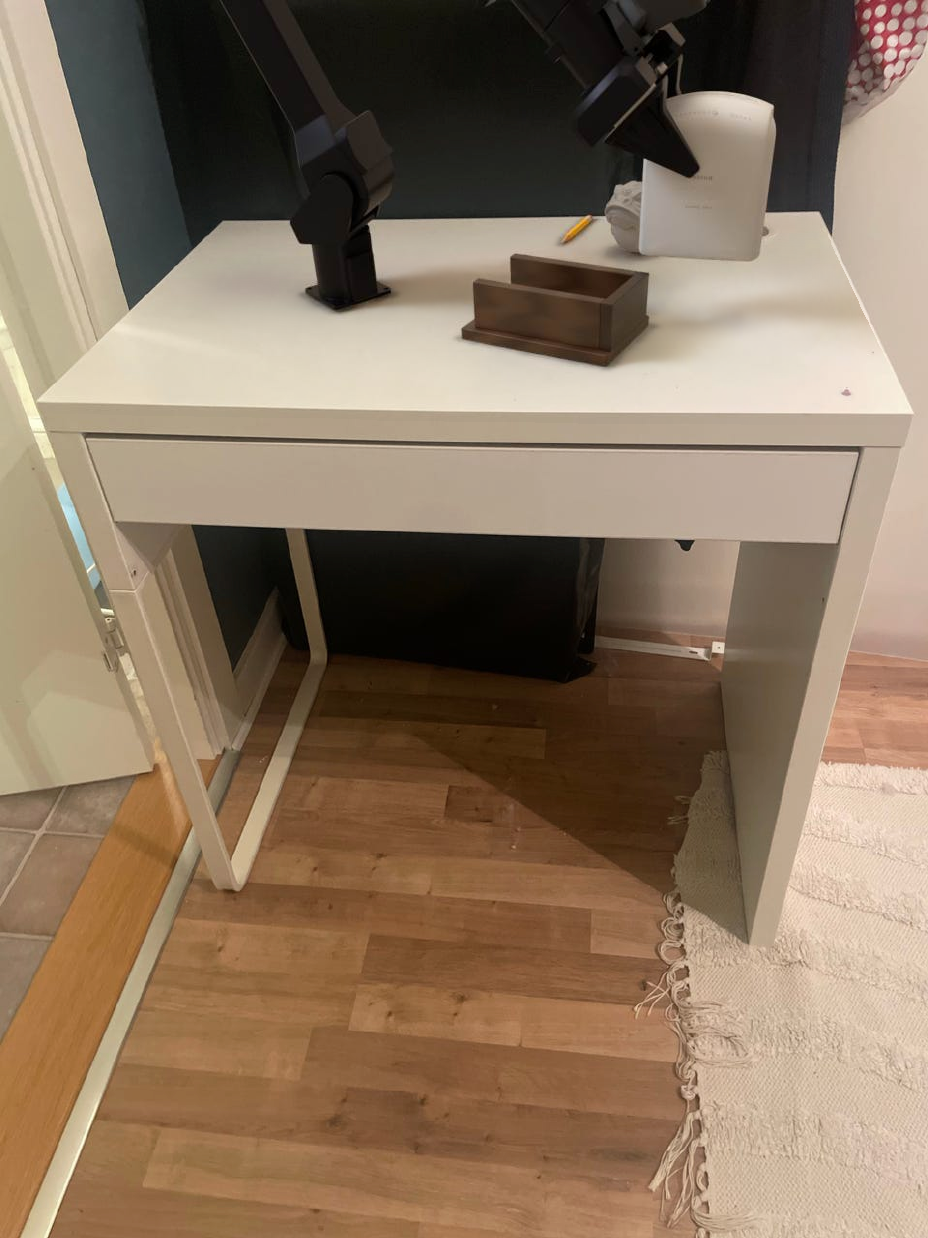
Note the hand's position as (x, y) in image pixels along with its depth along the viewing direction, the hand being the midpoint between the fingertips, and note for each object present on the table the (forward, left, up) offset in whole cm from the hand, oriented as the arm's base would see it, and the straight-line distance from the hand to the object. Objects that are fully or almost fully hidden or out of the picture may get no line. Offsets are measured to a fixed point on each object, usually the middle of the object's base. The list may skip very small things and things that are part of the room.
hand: (698, 165), depth 77 cm
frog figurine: (-15, +8, -13) cm, 22 cm away
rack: (-5, -11, -13) cm, 17 cm away
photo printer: (0, 0, -7) cm, 7 cm away
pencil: (-25, +8, -13) cm, 29 cm away
